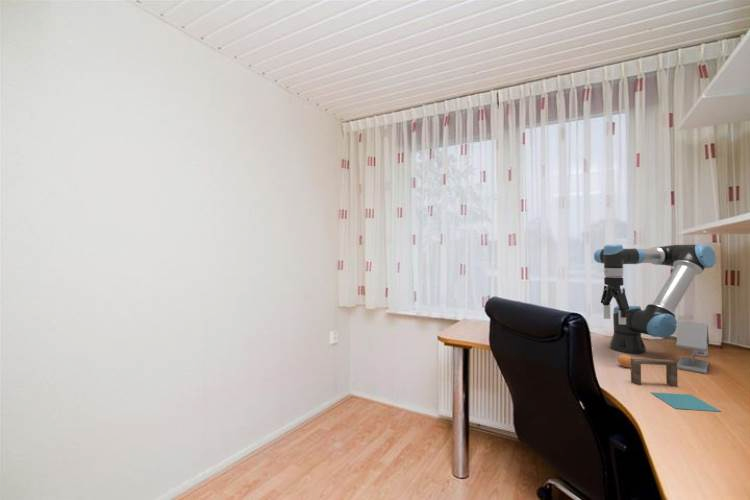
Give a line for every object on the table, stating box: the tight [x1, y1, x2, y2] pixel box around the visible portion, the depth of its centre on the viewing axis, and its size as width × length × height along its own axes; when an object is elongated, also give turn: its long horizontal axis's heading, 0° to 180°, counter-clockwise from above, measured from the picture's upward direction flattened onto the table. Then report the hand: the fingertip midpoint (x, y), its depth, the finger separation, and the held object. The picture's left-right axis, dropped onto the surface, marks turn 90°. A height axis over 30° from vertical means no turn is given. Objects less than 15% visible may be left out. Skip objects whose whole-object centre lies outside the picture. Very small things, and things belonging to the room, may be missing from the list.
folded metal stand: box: [675, 320, 711, 375], centre depth 152 cm, size 18×10×20 cm, turn 133°
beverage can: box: [695, 344, 709, 357], centre depth 169 cm, size 6×6×15 cm
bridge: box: [630, 358, 679, 387], centre depth 133 cm, size 3×14×9 cm, turn 80°
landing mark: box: [650, 391, 722, 413], centre depth 117 cm, size 13×13×1 cm
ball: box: [617, 354, 633, 368], centre depth 152 cm, size 6×6×6 cm
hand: (614, 321), depth 161 cm, fingers open, 13 cm apart
